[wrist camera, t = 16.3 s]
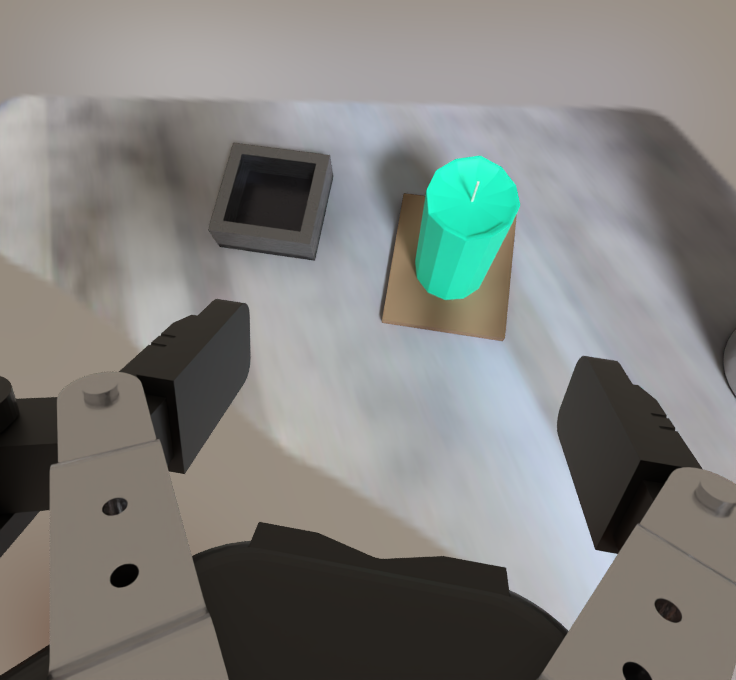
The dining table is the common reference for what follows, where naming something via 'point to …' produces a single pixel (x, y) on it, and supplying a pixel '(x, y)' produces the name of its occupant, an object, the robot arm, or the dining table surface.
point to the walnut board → (427, 311)
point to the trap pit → (272, 201)
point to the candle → (463, 225)
